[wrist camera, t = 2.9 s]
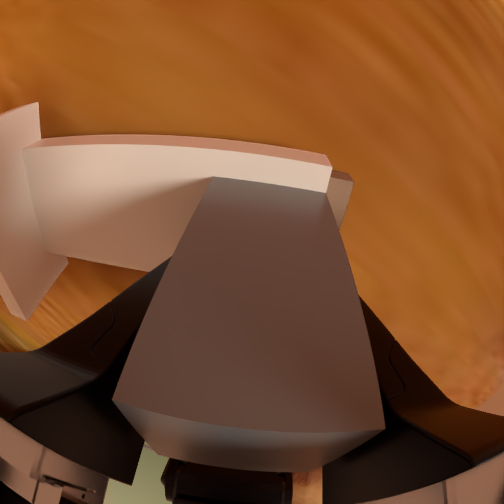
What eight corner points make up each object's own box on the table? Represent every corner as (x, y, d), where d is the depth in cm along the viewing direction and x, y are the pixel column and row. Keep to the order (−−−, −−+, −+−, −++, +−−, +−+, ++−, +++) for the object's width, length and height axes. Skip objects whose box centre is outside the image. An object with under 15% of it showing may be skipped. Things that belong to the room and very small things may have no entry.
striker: (287, 300, 15) (285, 482, 7) (52, 259, 15) (-25, 375, 7) (335, 106, 9) (529, 281, 1) (21, 105, 9) (-126, 196, 1)
